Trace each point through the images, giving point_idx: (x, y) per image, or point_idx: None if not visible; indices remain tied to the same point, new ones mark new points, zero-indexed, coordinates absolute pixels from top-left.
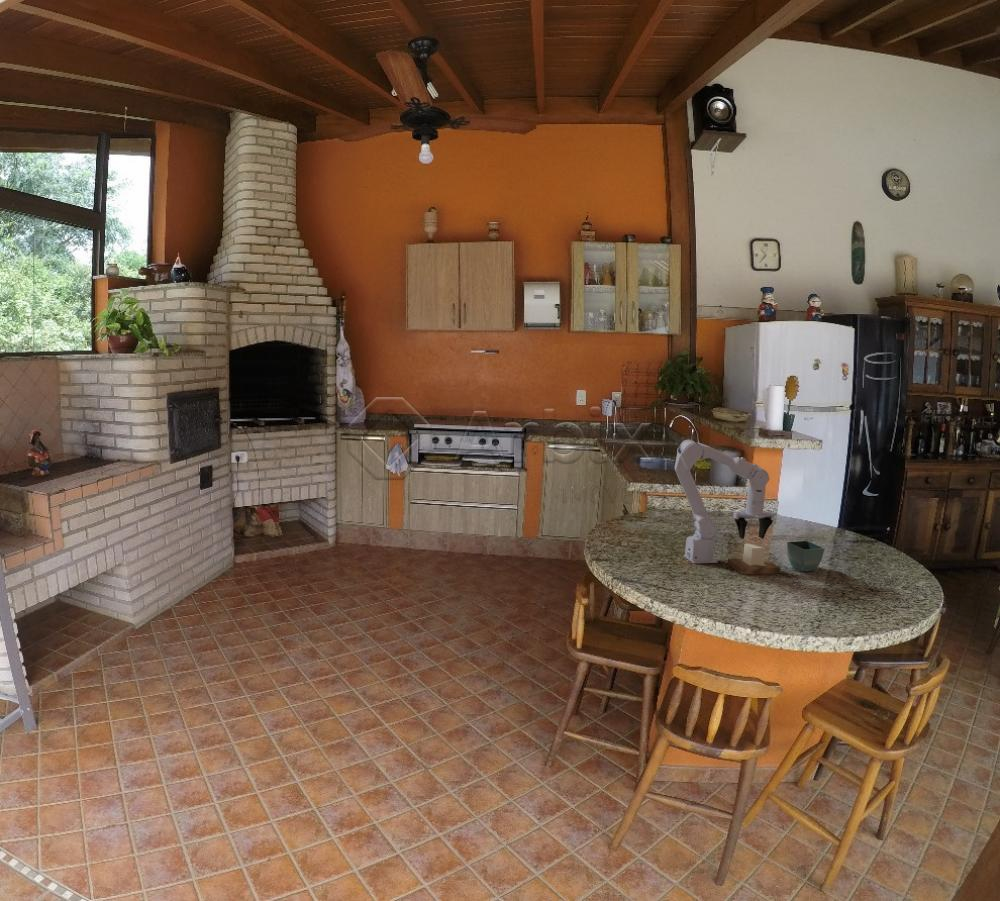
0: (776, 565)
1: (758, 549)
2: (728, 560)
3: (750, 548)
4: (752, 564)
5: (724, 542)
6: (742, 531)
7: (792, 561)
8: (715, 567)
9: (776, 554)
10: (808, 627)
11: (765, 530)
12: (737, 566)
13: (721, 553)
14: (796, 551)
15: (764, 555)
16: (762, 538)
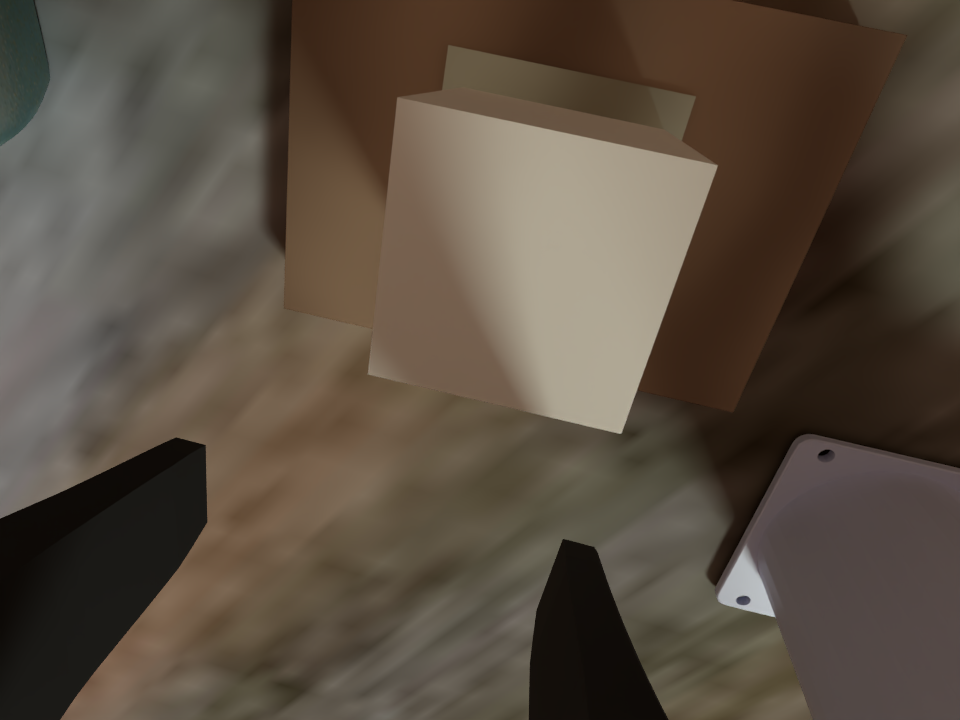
0: (298, 14)
1: (571, 128)
2: (736, 390)
3: (684, 235)
4: (637, 125)
5: (319, 709)
6: (646, 681)
7: (8, 45)
8: (954, 347)
9: (45, 417)
10: None
11: (34, 529)
12: (824, 194)
13: (525, 584)
14: None
15: (441, 93)
16: (195, 443)
